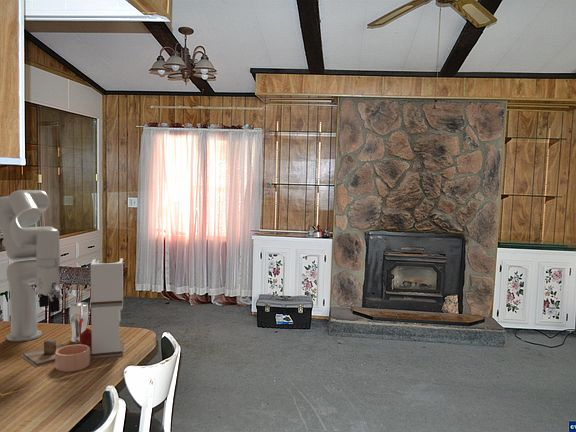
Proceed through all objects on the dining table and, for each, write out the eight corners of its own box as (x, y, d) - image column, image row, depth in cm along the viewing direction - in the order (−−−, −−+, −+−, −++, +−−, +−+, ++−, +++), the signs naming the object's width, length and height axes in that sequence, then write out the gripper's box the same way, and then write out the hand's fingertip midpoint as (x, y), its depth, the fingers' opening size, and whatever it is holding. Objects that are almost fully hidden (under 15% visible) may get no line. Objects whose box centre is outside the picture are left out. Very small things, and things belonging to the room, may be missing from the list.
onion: (97, 344, 186) (97, 324, 186) (94, 349, 181) (93, 329, 180) (82, 345, 185) (81, 325, 185) (78, 350, 180) (77, 329, 179)
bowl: (50, 366, 164) (50, 349, 163) (81, 358, 172) (81, 342, 171) (63, 375, 157) (63, 358, 156) (95, 366, 164) (94, 349, 164)
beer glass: (81, 344, 187) (81, 307, 185) (66, 342, 188) (65, 305, 187) (92, 338, 193) (91, 302, 192) (77, 337, 195) (76, 301, 194)
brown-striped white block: (122, 356, 174) (121, 263, 172) (92, 359, 171) (90, 264, 168) (123, 346, 185) (122, 258, 183) (94, 348, 182) (93, 259, 179)
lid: (22, 355, 172) (22, 341, 172) (62, 346, 183) (61, 332, 182) (37, 366, 163) (36, 350, 163) (77, 355, 173) (77, 341, 173)
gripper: (28, 260, 173) (29, 306, 175) (46, 267, 162) (47, 315, 163) (49, 258, 179) (50, 302, 180) (68, 264, 167) (69, 311, 168)
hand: (49, 309), depth 171 cm, fingers open, 9 cm apart
